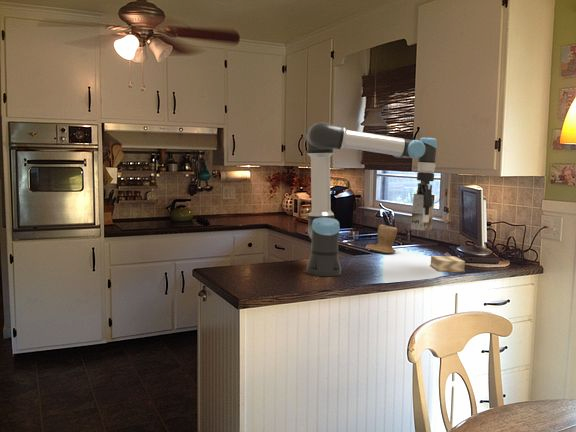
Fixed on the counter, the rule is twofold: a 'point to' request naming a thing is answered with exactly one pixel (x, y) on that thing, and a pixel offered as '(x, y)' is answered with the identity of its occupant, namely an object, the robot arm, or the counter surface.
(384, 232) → the tan boot
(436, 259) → the maple riser
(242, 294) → the counter surface
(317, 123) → the robot arm
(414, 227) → the coffee box
